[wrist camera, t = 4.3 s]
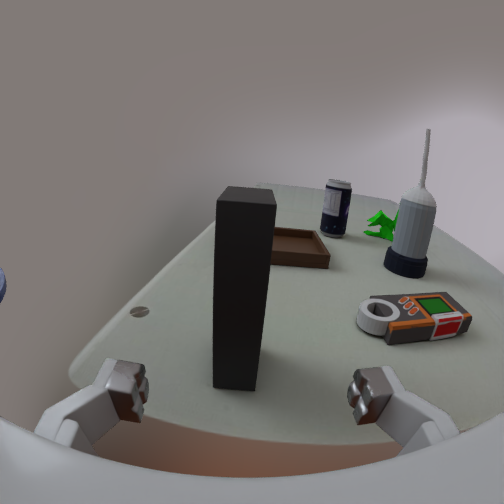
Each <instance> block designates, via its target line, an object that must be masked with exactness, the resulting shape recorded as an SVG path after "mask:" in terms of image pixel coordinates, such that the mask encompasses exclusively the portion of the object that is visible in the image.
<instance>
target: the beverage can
mask: <svg viewBox="0 0 504 504" xmlns="http://www.w3.org/2000/svg"><path fill="white" fill-rule="evenodd" d="M350 184H351V183H349V182H346V181H340V180H333V179H329V182H328V183H327V184H326V190H325V197H324V205H323V212H322V219H321V226H320V230H321V231H322V232H323V234H324V235H326V236H329V237H334V238H339V237H341V236H342V235H344V234H345V230H346V224H347V218H348V212H349V206H350V199H351V192H352V188H351V185H350Z"/></svg>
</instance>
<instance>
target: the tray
mask: <svg viewBox="0 0 504 504" xmlns="http://www.w3.org/2000/svg"><path fill="white" fill-rule="evenodd" d="M330 256H331V255H330V253H329V252H328V250H327V249H326V247H325V245H324V244H323V242H322V241H321V239H320V238H319V236H318V234H317V233H316V231H312V230H302V229H292V228H281V227H275V228H274V237H273V247H272V256H271V264H274V265H286V266H299V267H312V268H325V269H328V266H329V261H330Z"/></svg>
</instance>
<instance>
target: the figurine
mask: <svg viewBox="0 0 504 504" xmlns="http://www.w3.org/2000/svg"><path fill="white" fill-rule="evenodd" d="M398 212H399V210H398ZM398 212H397V215H396V217H395V220H393V221H392V220H391V219H390V218H388V217H387V216H386V215H385V214H384V213H383V212H382V211H381V210H380V211H379V212H378V213H377V214H376V215H375V216H374V217H372V218H370V219H369V220H367V221H370V222H373V223H371V224H370V225H368V226H376V225H378V224H379V225H381V226H382V227H381V228H380V232H372V231H368V230H367V231H364V233H366V234H367V235H371V236H378V237H381V238H383V239H385V238H387V239H389V240H390V241H392V242H393V234H392V232H393V229H394V232H395V228H396V223H397V218H398Z"/></svg>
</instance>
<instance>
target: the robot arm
mask: <svg viewBox="0 0 504 504" xmlns="http://www.w3.org/2000/svg"><path fill="white" fill-rule="evenodd" d="M145 372H146V370H145V366H144V365H143V364H139V363H133V362H127V361H122V360H116V359H111V358H107V359H106V360H105V361H104V363H103V365H102V366H101V368H100V370H99V372H98V374H97V376H96V378H95V380H94V382H93V384H92V386H90V385H88V386H86V387H84V388H83V389H81V390H79V391H78V392H76V393H74V394H72V395H71V396H69V397H67V398H65V399H64V400H62V401H60V402H58V403H57V404H55V405H53V406H51V407H50V408H48V409H46V410H45V411H44V413H43V415H42V417H41V419H40V421H39V423H38V425H37V426H36V428H35V430H34V432H30V431H28V430H26V429H24V428H22V427H20V426H18V425H16V424H14V423H12V422H10V421H8V420H7V419H5V418H2V417H1V416H0V504H504V412H502V413H500V414H498V415H497V416H495V417H493V418H491V419H489V420H487V421H485V422H483V423H481V424H480V425H477V426H475V427H473V428H471V429H469V430H467V431H465V432H463V433H460V431H459V430H458V428H457V426H456V425H455V423H454V421H453V420H452V418H451V416H450V415H449V414H448V413H447V412H445V411H443V410H441V409H440V408H438V407H436V406H434V405H433V404H431V403H429V402H427V401H426V400H424V399H422V398H421V397H419V396H417V395H415V394H414V393H412V392H410V391H406V390H405V388H404V387H403V385H402V383H401V382H400V380H399V378H398V377H397V375H396V373H395V372H394V370H393V368H392V367H391V366H381V367H373V368H365V369H357V370H356V371H355V372H354V375H353V378H354V381H353V382H351V383H350V385H349V387H348V391H347V398H348V402H349V405H350V406H352V407H353V408H354V411H353V415H354V418H355V421H356V423H357V425H362V424H368V423H375V422H376V424H377V425H378V426H379V427H380V428H381V429H382V430H384V431H385V432H386V433H387V434H388V435H389V436H391V437H392V438H393V439H394V440H395V441H396V442H398V443H399V444H400V445H401V446H402V447H404V448H403V449H402V450H401V451H400V452H399V454H398V455H397V457H394V458H391V459H387V460H384V461H379V462H375V463H372V464H367V465H362V466H358V467H353V468H348V469H342V470H336V471H330V472H323V473H316V474H307V475H297V476H284V477H264V478H229V477H210V476H197V475H187V474H179V473H171V472H165V471H159V470H153V469H147V468H141V467H137V466H133V465H128V464H124V463H120V462H116V461H112V460H108V459H104V458H101V457H99V455H98V454H97V453H96V451H95V450H94V448H93V447H92V445H93V444H94V443H95V442H96V441H97V440H99V439H100V438H101V437H102V436H103V435H104V434H105V433H107V432H108V431H109V430H110V429H111V428H112V427H114V426H115V425H116V424H117V423H118V422H119V421H120V420H125V421H131V422H137V423H141V419H142V416H143V413H144V408H143V404H144V403H146V402H147V399H148V393H149V384H148V379H147V378H146V377H145Z"/></svg>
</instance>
